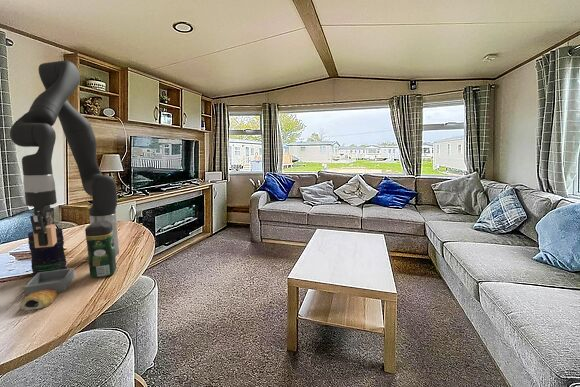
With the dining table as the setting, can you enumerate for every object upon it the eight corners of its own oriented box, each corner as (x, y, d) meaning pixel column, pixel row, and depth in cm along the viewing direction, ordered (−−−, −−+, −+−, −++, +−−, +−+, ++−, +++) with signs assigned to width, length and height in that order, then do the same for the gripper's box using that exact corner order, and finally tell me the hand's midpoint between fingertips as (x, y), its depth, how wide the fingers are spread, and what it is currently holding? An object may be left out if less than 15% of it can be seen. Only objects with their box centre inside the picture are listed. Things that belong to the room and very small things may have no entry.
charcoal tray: (38, 281, 105) (37, 272, 104) (74, 276, 109) (73, 268, 108) (25, 297, 94) (24, 287, 93) (65, 291, 98) (64, 281, 97)
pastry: (39, 296, 95) (37, 284, 94) (63, 294, 96) (62, 283, 96) (18, 312, 86) (16, 299, 85) (45, 310, 87) (44, 297, 86)
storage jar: (31, 272, 113) (25, 231, 111) (64, 264, 120) (59, 226, 118) (34, 280, 106) (29, 237, 104) (69, 272, 113) (65, 231, 111)
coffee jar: (93, 270, 115) (88, 220, 112) (118, 267, 117) (114, 218, 115) (87, 280, 106) (81, 226, 103) (113, 277, 108) (109, 224, 106)
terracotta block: (40, 243, 100) (37, 225, 99) (57, 242, 102) (55, 224, 101) (35, 248, 96) (32, 228, 95) (52, 246, 98) (50, 227, 97)
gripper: (33, 187, 102) (39, 238, 104) (15, 193, 89) (22, 251, 91) (61, 186, 105) (66, 236, 107) (47, 191, 92) (54, 248, 94)
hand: (46, 243), depth 99 cm, fingers closed on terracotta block, 4 cm apart
